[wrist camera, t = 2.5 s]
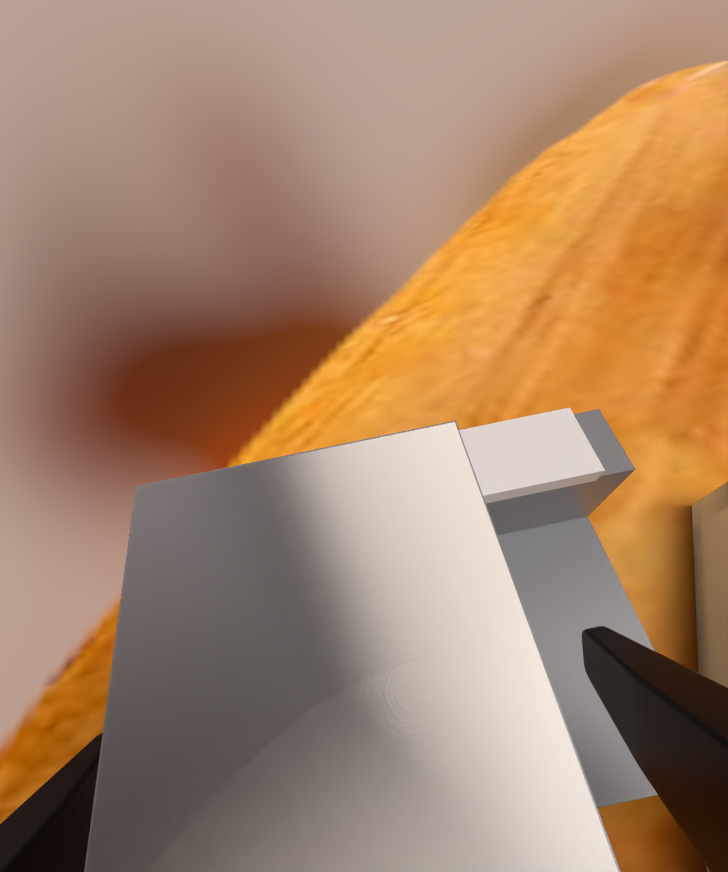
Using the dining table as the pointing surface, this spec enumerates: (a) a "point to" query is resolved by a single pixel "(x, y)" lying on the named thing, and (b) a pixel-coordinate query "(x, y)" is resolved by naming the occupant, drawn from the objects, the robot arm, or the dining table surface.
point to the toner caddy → (333, 679)
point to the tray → (711, 584)
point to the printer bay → (564, 565)
